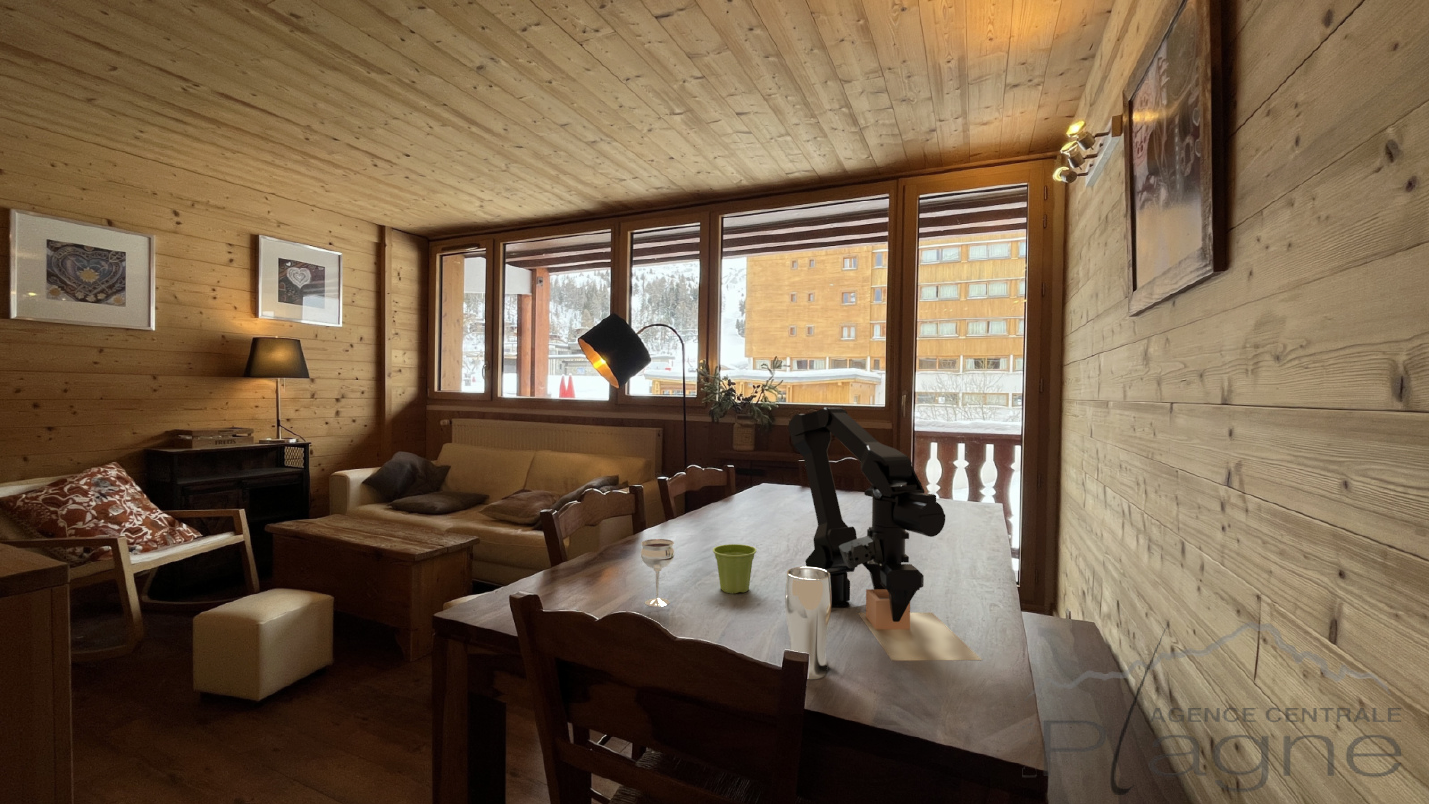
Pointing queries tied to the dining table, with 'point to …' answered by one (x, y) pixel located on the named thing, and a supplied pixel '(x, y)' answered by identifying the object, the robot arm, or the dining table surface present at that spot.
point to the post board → (921, 640)
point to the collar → (883, 611)
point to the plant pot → (734, 566)
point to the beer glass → (809, 614)
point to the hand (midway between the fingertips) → (887, 611)
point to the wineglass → (657, 562)
